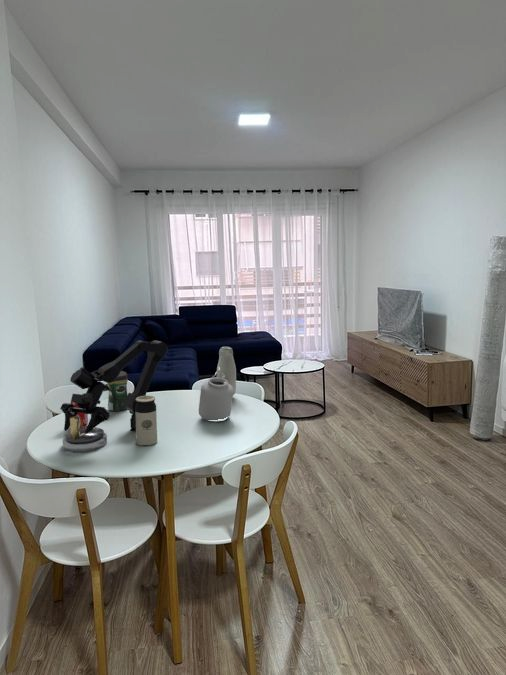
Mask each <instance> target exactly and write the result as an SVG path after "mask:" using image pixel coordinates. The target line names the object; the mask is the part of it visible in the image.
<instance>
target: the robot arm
mask: <svg viewBox="0 0 506 675" xmlns="http://www.w3.org/2000/svg"><path fill="white" fill-rule="evenodd" d="M168 349H169V347H168V345H167V343H166V342H163V341H159V340H152V341H143V340H136V341H135V342H134V344H132V345H131V346H130V347H129V348H127V349H126V350H125V351H124V352H123V353H122V354H120V355H119V356H118V357H117V358H115V360H113V361H111V362H108V363H106V364H104V365H102V366H101V367H99V368H98V369H97V370H94V371H92V372H90V371H88V370H87V369H86V368H85V367H80V368H79V369H77V370H76V371H75V372H74V373H72V375H71V377H70V383H72V384H74V385H75V386H76V387H77V386H78V388H80V389H81V390H85V389H86V392H85V393H82V394H80V393H79V394H78V393H72V395H71V399H70V403H71V402H75V403H76V405H77V406H79V408H76V407H75V406H74V405H73V404H70V403H69V402H67V403H66V402H64V403H62V404H61V406H60V408H59V409H60V410H61V411H62V413H63V414H64V427H63V431H65V432H67V431H68V429H70V418H71V417H75V416H76V415H77V414H78V413H83V414H88V415H90V420H88V424H87V425H86V427H87V428H86V430H85V433H86V434H87V433H89V432H90V431H91V430H92V429H93V428H95V427H96V428H97V426H98V425H100V424H102V423H104V422H105V421H108V420H110V419H109V418H110V417H111V415H110V414H111V413H110V412H109V411H108V410H107V409H106V407H104V406H98V405H100V404H101V400H100V399H101V397H102V395H103V393H104V392H107V391H108V392H109V390H110V389H109V386H108V383H111V382H113V381H114V380H115V379H116V378H117V377H118V375H119V374H120V372H121V371H123V369H124V368H125V367H126V366H127V365H129V364H130V363H131V362H132V361H133V360H134V359H136V358H137V357H138V356H139V355H141V354H142V353H143V352H147V353H146V354H147V355H146V356H147V359H146V362H145V365H144V367H143V369H142V371H141V375H140V376H139V377H140V378H139V380H138V383H137V385H136V387H135V389H134V390H133V392H127V395H128V396H127V399H126V400H125V402H126V403H125V406H126V409H125V410H127V411H128V412H129V414H131V415H130V419H129V420H130V423H129V424H130V429H129V430H130V431H134V432H136V415H135V406H136V404H137V401H136V398H137V397H140V396H147V391H148V390H149V388H150V386H151V383H152V380H153V378H154V374H155V372H156V370H157V367H158V365H159V363H160V362H161V361H162V359H164V358H165V356H166V354H167V353H168V351H169V350H168ZM104 382H105V383H106V384H105V383H104Z"/></svg>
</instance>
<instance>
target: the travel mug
mask: <svg viewBox="0 0 506 675" xmlns="http://www.w3.org/2000/svg"><path fill="white" fill-rule="evenodd" d="M155 400H156V396H153V395H146V396H140V397H137V398H136V401H137V404H136V406H135V415H136V431H135V441H136V442H135V443H136V444H137V445H139V446H142V445H148V446H152V445H154V444H156V443H157V442H158V425H157V424H158V422H157V421H158V420H157V419H158V418H157V417H158V416H157V404H156V402H155ZM151 444H152V445H151Z"/></svg>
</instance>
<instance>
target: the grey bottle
mask: <svg viewBox="0 0 506 675" xmlns="http://www.w3.org/2000/svg"><path fill="white" fill-rule="evenodd" d="M233 350H234V349H233V348H232V347H230V346H222V347H220V349H219V351H218V355H219V357H218V358H219V359H218V363H217V367H216V372H217V373H216V378H222V377H223V379H225V380H227V381H228V384H230V385H231V386H232V387H233V395H234V394H235V395H236V392H237V368H236V363H235V359H234V351H233ZM219 369H220V370H219ZM235 395H234V396H235Z"/></svg>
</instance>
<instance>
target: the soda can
mask: <svg viewBox="0 0 506 675" xmlns="http://www.w3.org/2000/svg"><path fill="white" fill-rule="evenodd" d="M70 404H73V405H74V406H75V407H76V408H79V406H77V405H76V403H75V402H71V401H70ZM75 417H79V428H82V427H83V428H85V427H87V426H88V423H89V414H83V413H78V414H77V415H76V416H75Z"/></svg>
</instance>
